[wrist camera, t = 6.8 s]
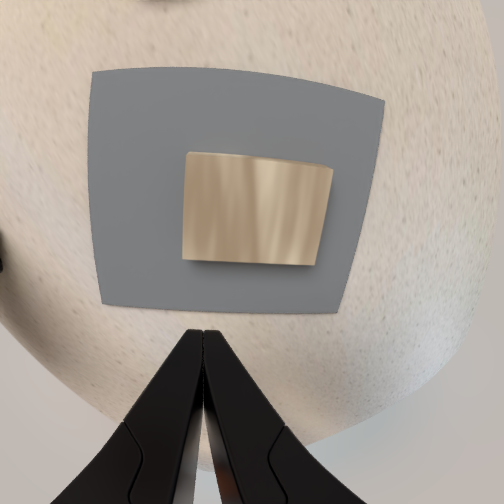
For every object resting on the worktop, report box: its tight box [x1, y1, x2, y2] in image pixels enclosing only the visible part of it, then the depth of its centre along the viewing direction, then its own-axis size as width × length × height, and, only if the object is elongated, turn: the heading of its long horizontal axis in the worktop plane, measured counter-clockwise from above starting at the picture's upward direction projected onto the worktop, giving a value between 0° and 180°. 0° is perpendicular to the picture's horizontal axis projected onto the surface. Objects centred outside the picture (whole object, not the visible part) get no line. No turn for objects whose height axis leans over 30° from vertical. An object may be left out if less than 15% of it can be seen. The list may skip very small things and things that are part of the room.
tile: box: [182, 152, 333, 265], centre depth 17 cm, size 2×6×8 cm
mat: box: [88, 67, 385, 313], centre depth 18 cm, size 18×16×1 cm
